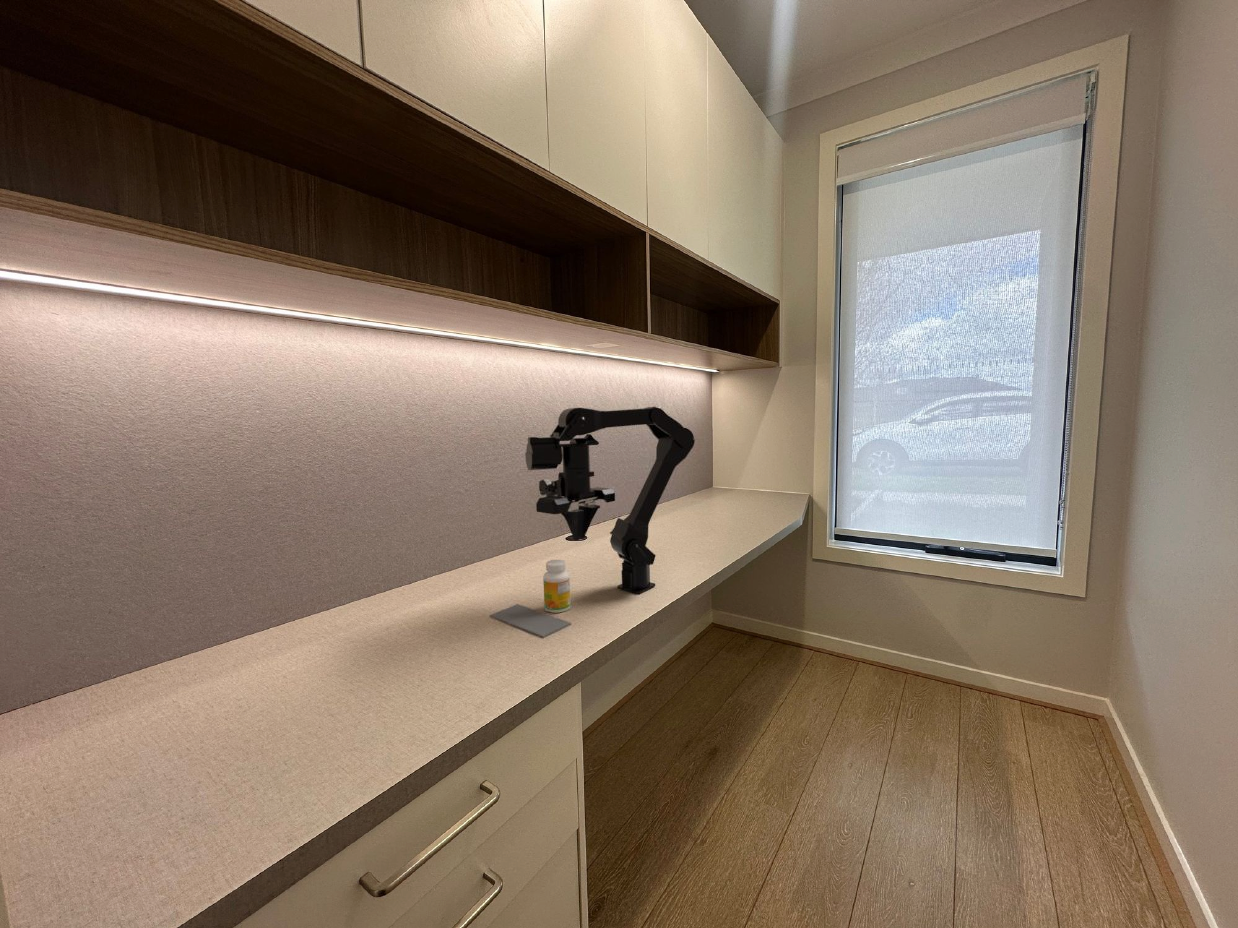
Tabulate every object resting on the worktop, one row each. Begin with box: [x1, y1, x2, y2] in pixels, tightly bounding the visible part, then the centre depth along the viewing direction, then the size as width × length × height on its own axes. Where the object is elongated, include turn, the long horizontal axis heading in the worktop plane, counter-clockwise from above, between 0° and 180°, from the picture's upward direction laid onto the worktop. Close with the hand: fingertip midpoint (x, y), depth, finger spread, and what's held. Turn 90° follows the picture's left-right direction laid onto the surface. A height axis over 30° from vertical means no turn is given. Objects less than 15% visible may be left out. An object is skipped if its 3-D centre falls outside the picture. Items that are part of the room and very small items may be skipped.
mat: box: [489, 603, 572, 639], centre depth 94 cm, size 7×16×1 cm, turn 51°
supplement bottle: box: [542, 559, 571, 614], centre depth 99 cm, size 5×5×10 cm
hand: (578, 539), depth 104 cm, fingers closed
